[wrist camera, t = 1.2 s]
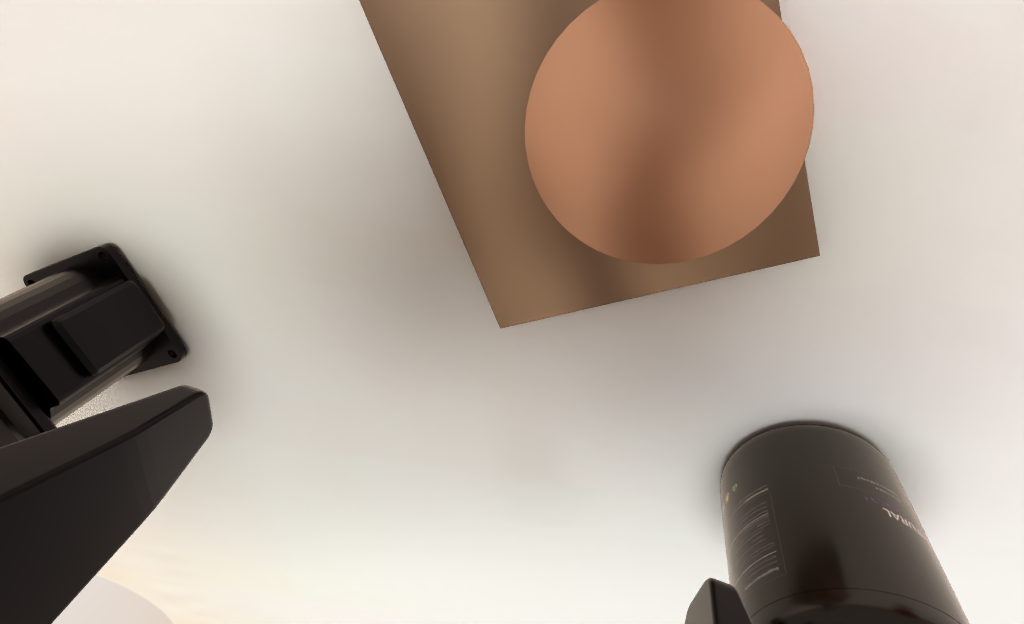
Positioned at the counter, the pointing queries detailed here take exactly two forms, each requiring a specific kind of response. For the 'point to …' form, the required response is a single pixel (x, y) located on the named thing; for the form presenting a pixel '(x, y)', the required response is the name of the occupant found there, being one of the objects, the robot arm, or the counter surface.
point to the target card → (607, 141)
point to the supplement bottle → (827, 534)
